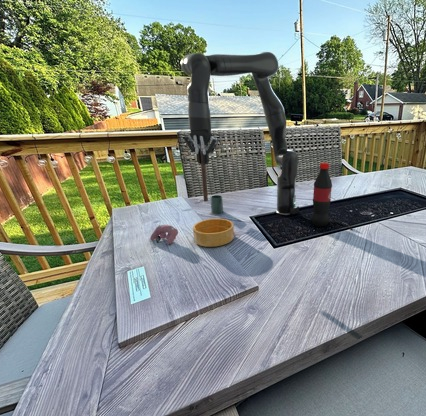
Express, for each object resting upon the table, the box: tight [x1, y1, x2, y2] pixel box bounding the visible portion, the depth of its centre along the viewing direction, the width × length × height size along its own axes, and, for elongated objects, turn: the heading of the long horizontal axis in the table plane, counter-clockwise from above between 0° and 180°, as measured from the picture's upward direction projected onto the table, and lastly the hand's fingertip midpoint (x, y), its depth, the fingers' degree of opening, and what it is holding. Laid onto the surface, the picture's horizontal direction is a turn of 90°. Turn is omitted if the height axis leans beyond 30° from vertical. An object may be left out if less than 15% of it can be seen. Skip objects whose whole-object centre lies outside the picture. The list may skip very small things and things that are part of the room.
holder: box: [209, 194, 224, 215], centre depth 133 cm, size 6×6×9 cm
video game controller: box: [150, 224, 179, 245], centre depth 104 cm, size 10×5×7 cm, turn 71°
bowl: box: [192, 218, 235, 248], centre depth 106 cm, size 15×15×6 cm
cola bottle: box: [311, 162, 333, 228], centre depth 122 cm, size 8×8×30 cm
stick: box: [200, 150, 209, 202], centre depth 102 cm, size 2×2×20 cm
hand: (203, 163), depth 101 cm, fingers closed on stick, 1 cm apart
